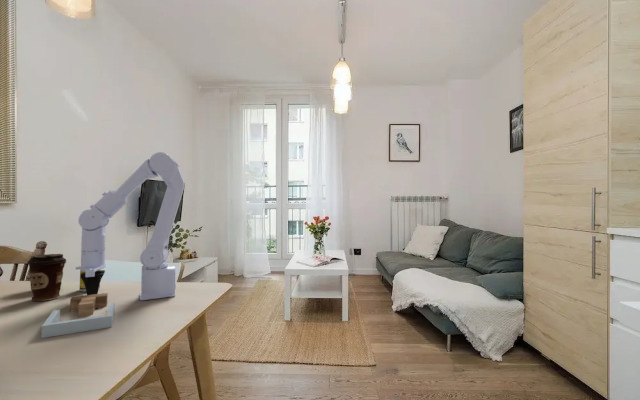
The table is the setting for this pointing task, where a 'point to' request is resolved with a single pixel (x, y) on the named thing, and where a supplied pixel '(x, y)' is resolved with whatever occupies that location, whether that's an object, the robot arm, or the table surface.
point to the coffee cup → (46, 276)
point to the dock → (76, 323)
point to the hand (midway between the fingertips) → (92, 296)
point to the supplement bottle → (82, 283)
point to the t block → (88, 303)
